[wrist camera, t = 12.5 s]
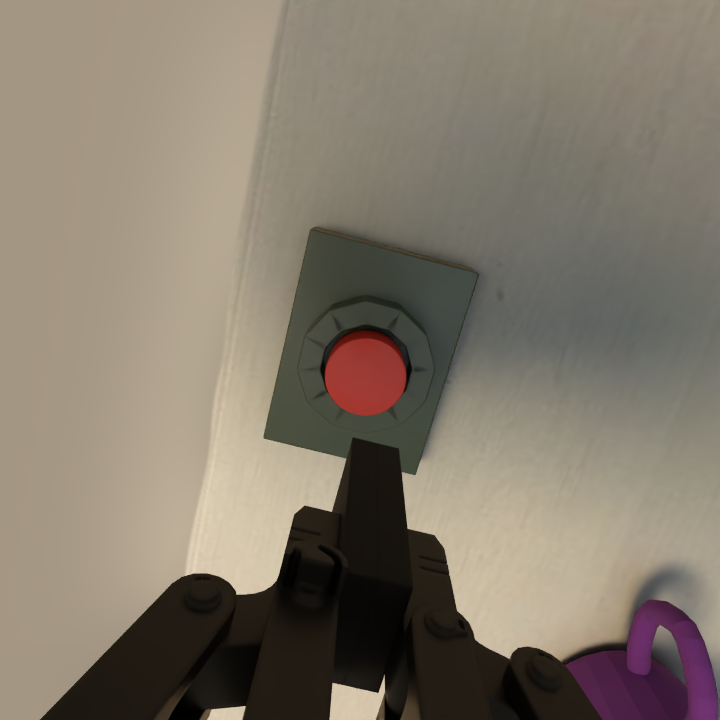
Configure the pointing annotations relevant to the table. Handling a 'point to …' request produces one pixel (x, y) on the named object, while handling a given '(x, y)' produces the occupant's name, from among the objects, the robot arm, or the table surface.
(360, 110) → the table surface
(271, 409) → the button block
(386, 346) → the red button
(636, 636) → the mug
